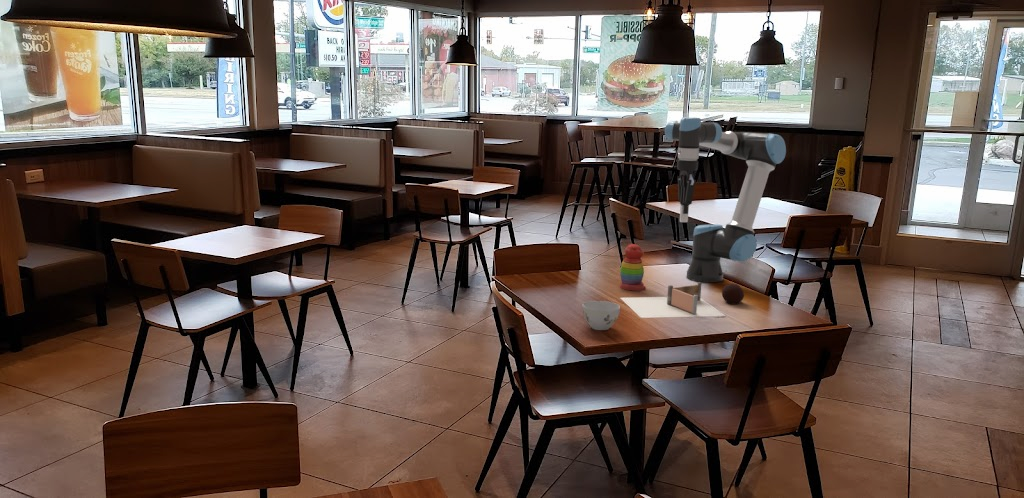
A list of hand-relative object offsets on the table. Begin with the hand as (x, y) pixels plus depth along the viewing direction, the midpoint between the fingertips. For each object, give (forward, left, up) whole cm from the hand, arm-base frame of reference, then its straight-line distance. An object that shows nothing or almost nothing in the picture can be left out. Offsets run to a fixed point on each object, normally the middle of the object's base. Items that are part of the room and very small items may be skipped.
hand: (683, 221), depth 289 cm
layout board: (+8, +15, -29) cm, 34 cm away
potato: (-17, +11, -30) cm, 36 cm away
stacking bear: (+14, -15, -30) cm, 36 cm away
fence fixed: (+2, +10, -29) cm, 30 cm away
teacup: (+41, +35, -30) cm, 62 cm away
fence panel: (+5, +20, -29) cm, 35 cm away
